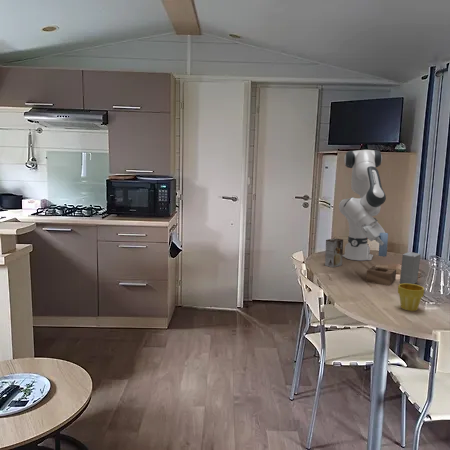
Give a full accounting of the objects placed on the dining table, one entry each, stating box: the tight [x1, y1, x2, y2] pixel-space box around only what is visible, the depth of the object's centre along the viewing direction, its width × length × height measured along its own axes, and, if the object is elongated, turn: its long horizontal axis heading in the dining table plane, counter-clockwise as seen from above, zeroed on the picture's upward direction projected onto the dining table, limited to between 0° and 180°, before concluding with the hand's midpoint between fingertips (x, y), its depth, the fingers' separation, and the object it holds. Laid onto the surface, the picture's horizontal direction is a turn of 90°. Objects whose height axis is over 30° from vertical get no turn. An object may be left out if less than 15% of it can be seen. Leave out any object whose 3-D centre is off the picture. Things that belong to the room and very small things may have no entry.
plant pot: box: [397, 283, 425, 312], centre depth 187 cm, size 10×10×10 cm
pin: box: [378, 232, 389, 258], centre depth 227 cm, size 4×4×12 cm
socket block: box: [365, 266, 397, 287], centre depth 229 cm, size 12×12×6 cm
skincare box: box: [399, 251, 421, 284], centre depth 225 cm, size 8×7×16 cm
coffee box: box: [324, 238, 344, 268], centre depth 262 cm, size 9×6×16 cm
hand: (384, 243), depth 226 cm, fingers closed on pin, 4 cm apart
